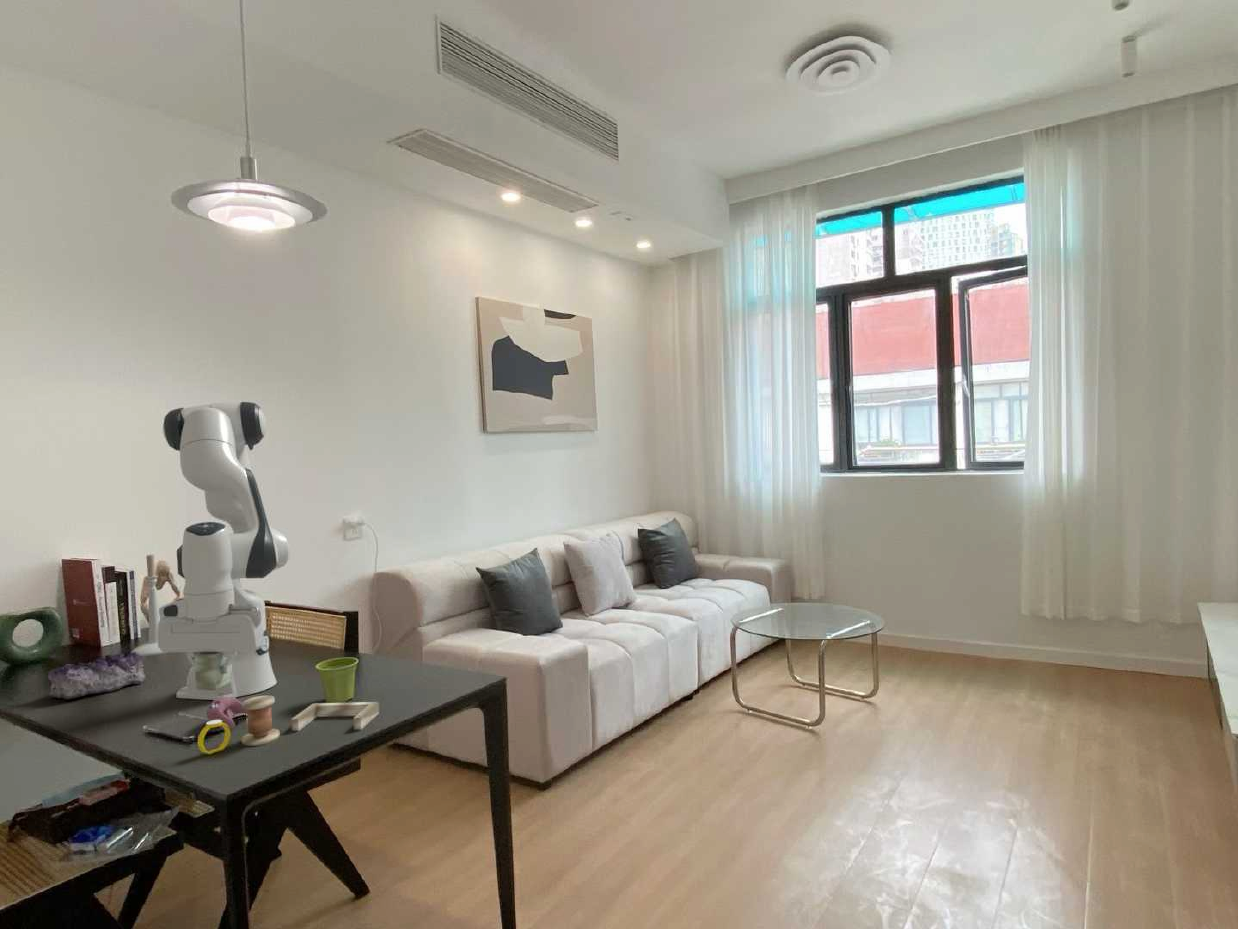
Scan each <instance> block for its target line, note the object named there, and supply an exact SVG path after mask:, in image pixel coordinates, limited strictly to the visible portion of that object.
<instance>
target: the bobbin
mask: <svg viewBox="0 0 1238 929" xmlns="http://www.w3.org/2000/svg"><path fill="white" fill-rule="evenodd" d="M275 703H276V698H275V696H273V695H269V694H268V695H266V694H265V695H258V696H253V697H250V698H248V699H247V698H246V699H245V700H243V701H242V708H243V709H247V716H246V717H247V729H248V730H247V732H248V733H246V734H245V735H243V736H242V737H241V744H242V745H243V746H245V747H246V746H247V747H257V746H262V745H263V746H264V745H267V744H269V743H272V742H274V741H276V740H277V739H279V738H280V735H281V733H280V730H279V729H278V728H277V729H276V728H273V720H272V719H273V718H272V705H274V704H275Z"/></svg>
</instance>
